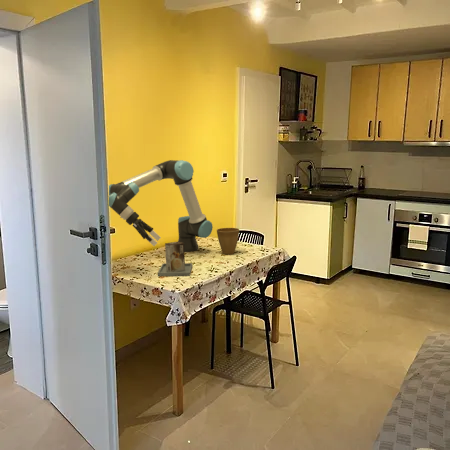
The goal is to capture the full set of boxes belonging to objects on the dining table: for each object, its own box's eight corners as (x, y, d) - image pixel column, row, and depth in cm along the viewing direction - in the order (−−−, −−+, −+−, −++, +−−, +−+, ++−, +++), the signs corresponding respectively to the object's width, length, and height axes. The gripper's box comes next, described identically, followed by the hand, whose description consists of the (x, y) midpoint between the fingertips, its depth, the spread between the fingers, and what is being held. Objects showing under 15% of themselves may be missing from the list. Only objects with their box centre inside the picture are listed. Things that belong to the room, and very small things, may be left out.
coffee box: (180, 268, 262) (179, 241, 260) (185, 270, 257) (184, 243, 254) (165, 270, 257) (164, 243, 255) (170, 273, 252) (169, 245, 249)
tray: (162, 266, 268) (162, 263, 267) (192, 266, 267) (192, 263, 267) (157, 276, 248) (157, 272, 248) (189, 276, 248) (189, 272, 248)
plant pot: (240, 250, 306) (240, 227, 303) (238, 256, 291) (238, 231, 288) (218, 250, 307) (217, 227, 304) (215, 255, 292) (215, 231, 290)
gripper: (129, 217, 265) (156, 241, 268) (120, 224, 240) (149, 251, 243) (138, 207, 264) (165, 232, 267) (129, 214, 239) (158, 242, 242)
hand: (157, 241), depth 255 cm, fingers open, 13 cm apart
